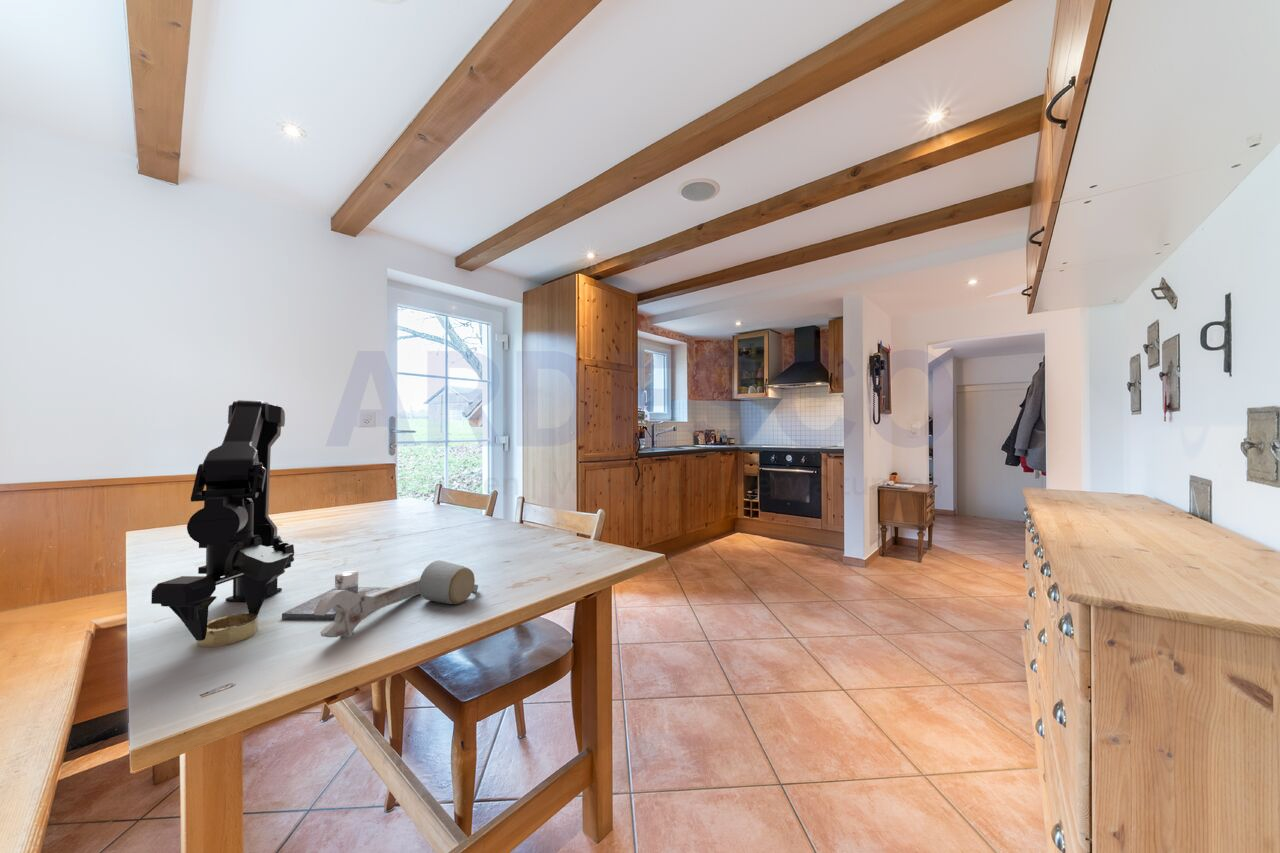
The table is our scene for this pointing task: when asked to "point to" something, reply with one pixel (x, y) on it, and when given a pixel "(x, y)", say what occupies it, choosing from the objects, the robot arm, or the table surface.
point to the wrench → (360, 606)
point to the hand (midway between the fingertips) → (228, 627)
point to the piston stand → (342, 582)
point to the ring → (230, 629)
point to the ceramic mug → (447, 583)
